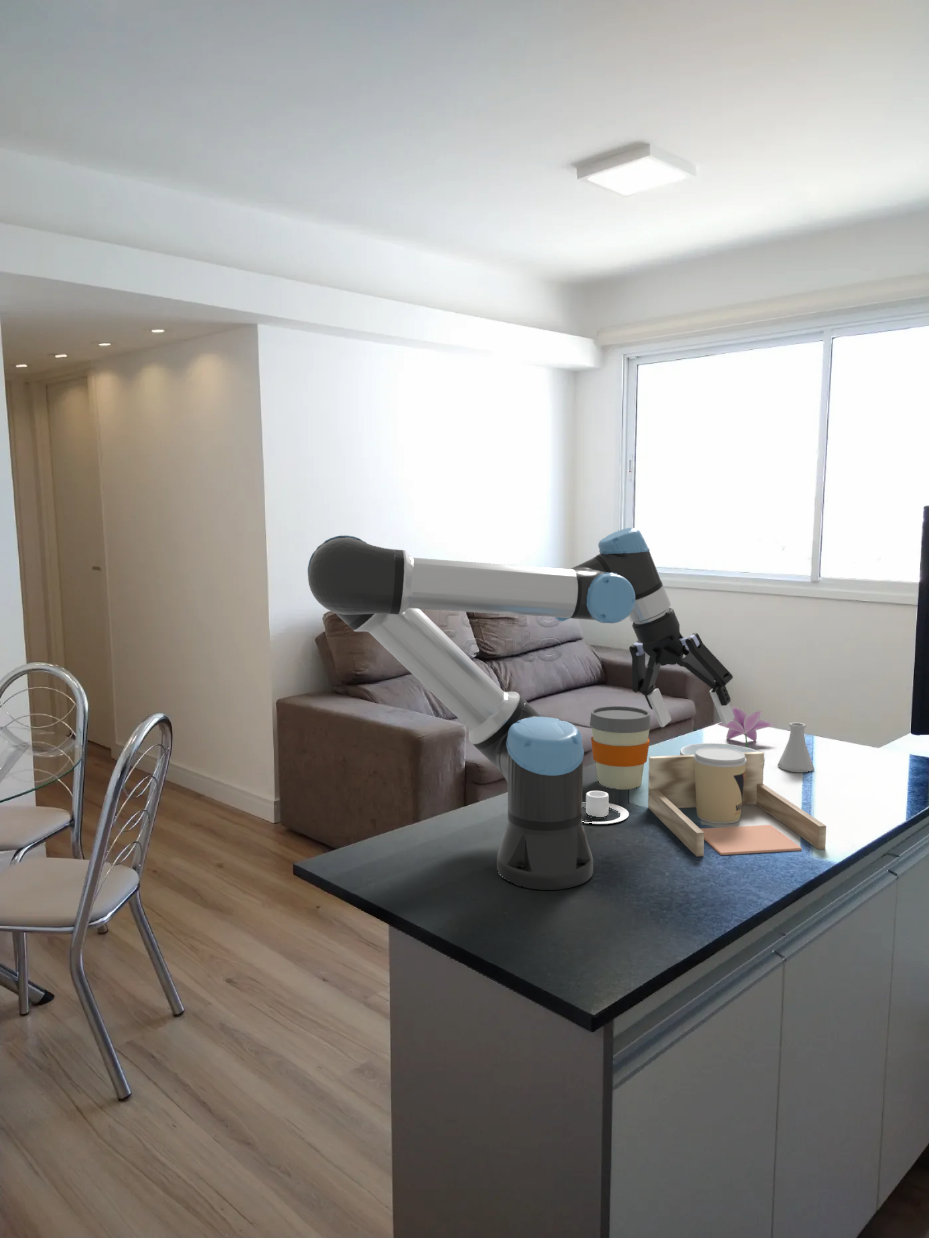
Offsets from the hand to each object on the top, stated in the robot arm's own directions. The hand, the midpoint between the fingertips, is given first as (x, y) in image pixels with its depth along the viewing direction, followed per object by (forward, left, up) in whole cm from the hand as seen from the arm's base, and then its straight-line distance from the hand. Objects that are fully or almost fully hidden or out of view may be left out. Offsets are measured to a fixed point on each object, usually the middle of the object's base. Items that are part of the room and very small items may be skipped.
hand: (696, 722), depth 154 cm
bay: (+7, -1, -19) cm, 20 cm away
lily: (+33, +52, -19) cm, 65 cm away
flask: (+35, +31, -19) cm, 51 cm away
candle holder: (-15, +9, -20) cm, 27 cm away
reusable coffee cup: (-5, +27, -19) cm, 34 cm away
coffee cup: (+7, +5, -19) cm, 21 cm away
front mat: (+7, -7, -19) cm, 22 cm away
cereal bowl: (+15, +22, -19) cm, 33 cm away
